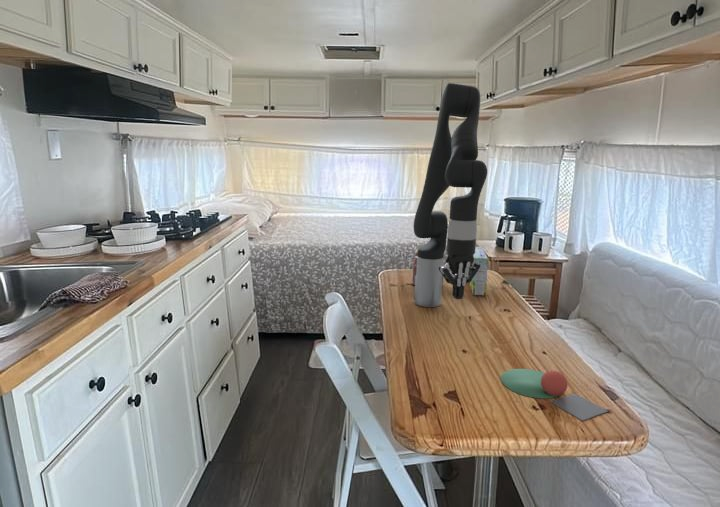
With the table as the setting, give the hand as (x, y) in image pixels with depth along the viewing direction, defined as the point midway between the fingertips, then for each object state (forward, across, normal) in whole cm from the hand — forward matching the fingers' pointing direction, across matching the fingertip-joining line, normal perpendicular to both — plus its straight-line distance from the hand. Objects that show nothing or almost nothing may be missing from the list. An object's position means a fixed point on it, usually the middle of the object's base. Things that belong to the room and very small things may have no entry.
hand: (457, 298), depth 126 cm
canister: (+14, -29, -54) cm, 63 cm away
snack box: (+14, -44, -42) cm, 63 cm away
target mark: (+14, -3, +25) cm, 29 cm away
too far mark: (+14, -4, +37) cm, 40 cm away
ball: (+11, -3, +31) cm, 33 cm away
